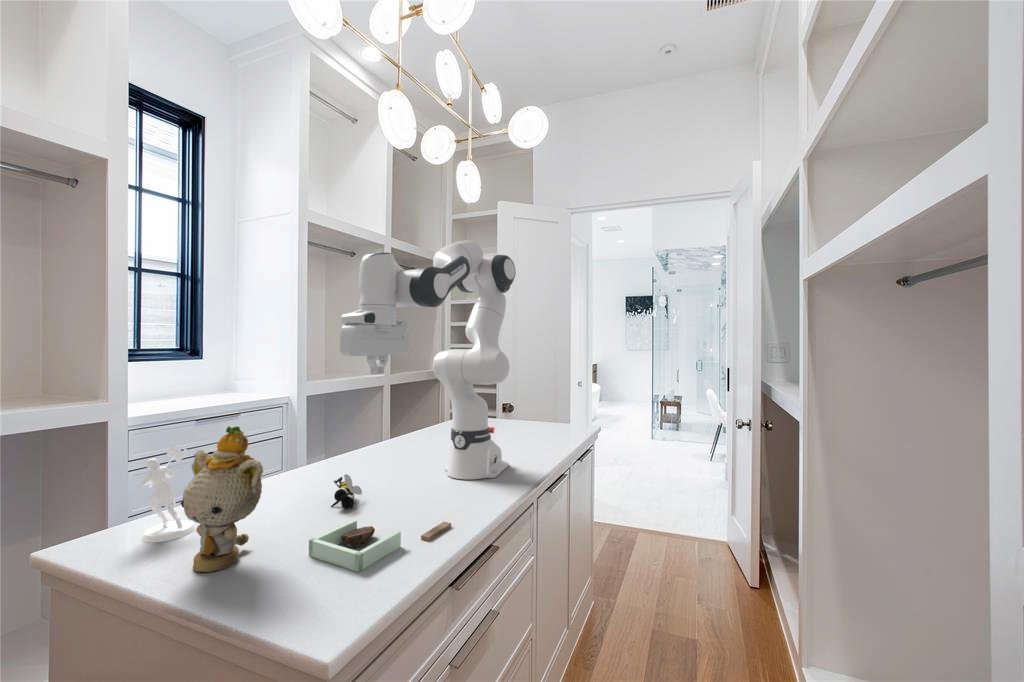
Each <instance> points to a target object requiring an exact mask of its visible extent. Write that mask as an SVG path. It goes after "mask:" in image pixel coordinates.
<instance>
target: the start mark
mask: <svg viewBox="0 0 1024 682" xmlns="http://www.w3.org/2000/svg"><path fill="white" fill-rule="evenodd" d="M451 527H452V523H451V522H447V521H442V522H441V523H440V524H438V525H436V526H434V527H433V528H431V529H430V530H428V531H426V532H424V533H423V534H421V535H420V540H423V541H426V542H429V541H431V540H433V539H435V538H436V537H438V536H439V535H441V534H442V533H444V532H446V531H447V530H448V529H450V528H451Z"/></svg>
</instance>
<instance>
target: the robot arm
mask: <svg viewBox="0 0 1024 682" xmlns="http://www.w3.org/2000/svg"><path fill="white" fill-rule="evenodd" d="M483 253H484V252H483V250H482V248H481V246H480V245H479V243H478V242H476V241H474V240H470V239H469V240H468V239H467V240H465V239H464V240H459V241H455V242H452V243H450V244H447V245H446V246H443V247H441V248H440V249H438V251H437V252H435V254H434V256H433V259H432V260H433V261H432V266H428V267H422V268H416V269H407V270H406V269H405V268H403V267H402V266H400V265H399V264H398V262H397V261H396V259H395V255H394V253H392V252H391V253H390V252H373V253H367V254H364V256H363V257H362V259H361V261H360V264H359V273H358V274H359V276H358V289H359V292H360V299H359V302H358V309H357V310H355V311H352V312H349V313H345V314H342V315H341V318H340V319H341V324H342V327H341V329H340V333H339V334H340V335H339V352H340V353H341V355H342V356H343V357H366V362H367V364H368V366H369V367H370V375H372V376H373V375H374V376H376V375H384V374H385V367H386V365H387V363H388V361H389V356H406V355H408V354H409V353H410V350H411V349H410V348H411V347H410V336H409V335H410V334H409V331H408V326H407V324H406V323H405V322H404V320H402V319H397V308H418V307H422V308H423V307H424V308H436V307H437V308H438V307H440V306H441V305H442V304H443V303H444V302H445V300H446V299H447V297H448V295H449V293H450V292H451V291H452V290H453V289H454V288H457V289H458V290H459V291H460V292H463V293H467V294H468V293H476V292H477V299H476V301H475V303H474V305H473V306H472V310H471V311H470V315H469V318H468V320H467V324H466V325H465V336H466V339H468V341H469V342H470V343H471V344H472V345H473V347H472V348H467V349H466V348H465V349H463V348H451V349H447V350H441V351H439V352H438V353H437V354H436V355H435V357H434V358H433V361H432V371H433V374H434V376H435V378H437V380H438V381H439V382H441V384H442V385H443V386H444V388H445V389H446V391H447V394H448V396H449V400H450V403H451V412H452V414H451V415H452V428H451V430H450V440H451V442H450V443H449V445H448V452H447V464H446V465H445V466H444V471H446V474H447V476H448V477H450V478H453V479H458V480H481V479H490V478H491V479H493V478H497V477H498V476H499V475H500V474H501V473H502V472H504V471H505V470H506V469H507V468H508V467H509V462H508V461H506V460H503V459H502V457H503V456H502V455H503V454H502V449H501V447H500V446H499V445H498V444H497V443H496V442H494V441H493V439H492V436H491V434H494V433H495V427H494V426H489V425H488V424H489V413H488V412H489V406H488V403H487V402H486V400H485V399H484V398H483V397H482V396H480V395H478V393H477V391H476V390H475V389H474V385H484V386H485V385H486V386H491V385H495V384H500V383H503V382H504V381H505V380H506V379H507V378H508V375H509V372H510V361H509V359H508V357H507V355H506V354H505V353H504V352H503V351H502V350H501V348H500V347H499V337H500V331H501V329H502V325H503V322H504V319H505V318H504V317H505V314H506V307H507V306H506V304H507V299H506V296H505V294H506V292H508V291H509V290H510V288H511V285H512V284H513V282H514V280H515V277H516V266H515V263H514V261H513V260H512V258H511V257H510V256H508V255H507V254H506V255H505V254H495V255H492V256H484V254H483ZM504 293H505V294H504ZM378 360H379V361H378ZM377 361H378V363H377Z"/></svg>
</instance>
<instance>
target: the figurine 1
mask: <svg viewBox="0 0 1024 682" xmlns="http://www.w3.org/2000/svg"><path fill="white" fill-rule="evenodd" d="M179 446H180V445H179V444H178V443H175V444H173V445H171V447H170V448H169V449H168V450H167V452H166V457H167V458H170V457H171V455H173V456H172V457H171V458H170V459H169V461H168V462H167V464H166V465H163V466H161V464H160V462H159V459H157V458H150V459H147V460H146V465H145V467H146V469H147V470H151V471H150V472H148V473H146V474H145V476H144V478H142V480H141V481H140V482H139V483H138V484H137V487H140V488H142V487H145V486H148V489H150V488H152V486H153V485H154V486H153V487H154V488H153V491H152V493H151V494H150V496H149V503H148V504H149V506H148V509H149V510H152V511H153V512H154V513H155V514H156V515H157V517H159V518H160V519H161V521H162V523H159V524H156V525H153V526H151V527H149V528H148V529H146V530H144V532H143V534H142V535H141V536H140V541H141V542H143V543H147V544H149V543H152V544H153V543H162V542H168V541H172V540H176V539H179V538H182V537H185V536H188V535H190V534H192V533H193V532H194V531H196V529H197V526H196V524H195V522H194V521H193V520H189V519H188V520H185V519H184V520H183V519H180V518H179V515H178V512H177V511H176V509H175V508H174V507H176V506H177V505H176V504H177V502H176V498H175V493H174V489H173V487H172V486H170V483H169V482H167V480H165V479H166V478H169V479H172V478H174V477H175V475H176V474H175V472H174V471H173V470H171V469H169V467H168V466H169V465H170V464H171V463H172V461H173V460H174V459H175V457H177V458H176V459H175V461H176V462H180V461H182V460H183V459H184V458H185V456H186V455H187V453H188V449H187V448H184V449H183V451H182V450H181V448H179V449H178V448H177V447H179ZM163 505H164V508H165V509H166V511H167V512H168V514H169V515H170V516H171V517H172V518H173V520H174V521H172V520H171V521H170V520H169V518H167V517H166V515H165V513H164V511H163V510H162V509H163ZM172 506H173V507H172Z"/></svg>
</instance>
